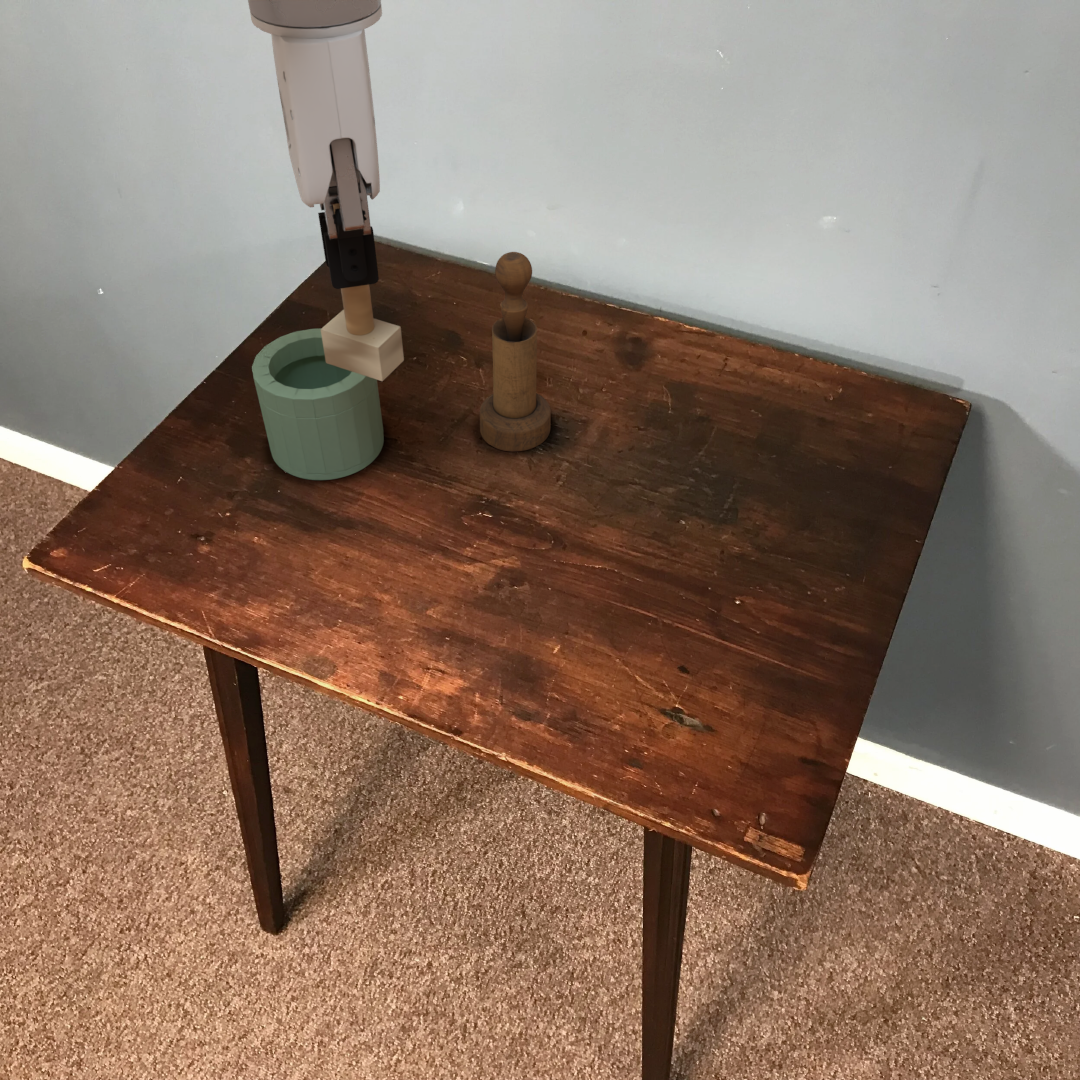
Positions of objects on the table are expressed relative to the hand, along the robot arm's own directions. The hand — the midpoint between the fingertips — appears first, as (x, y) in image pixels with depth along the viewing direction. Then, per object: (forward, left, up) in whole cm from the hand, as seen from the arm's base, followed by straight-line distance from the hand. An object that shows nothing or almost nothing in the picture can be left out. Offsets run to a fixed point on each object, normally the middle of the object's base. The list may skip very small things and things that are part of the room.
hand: (352, 272), depth 72 cm
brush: (0, 0, -8) cm, 8 cm away
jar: (-3, +10, -23) cm, 25 cm away
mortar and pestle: (+14, +7, -23) cm, 28 cm away
